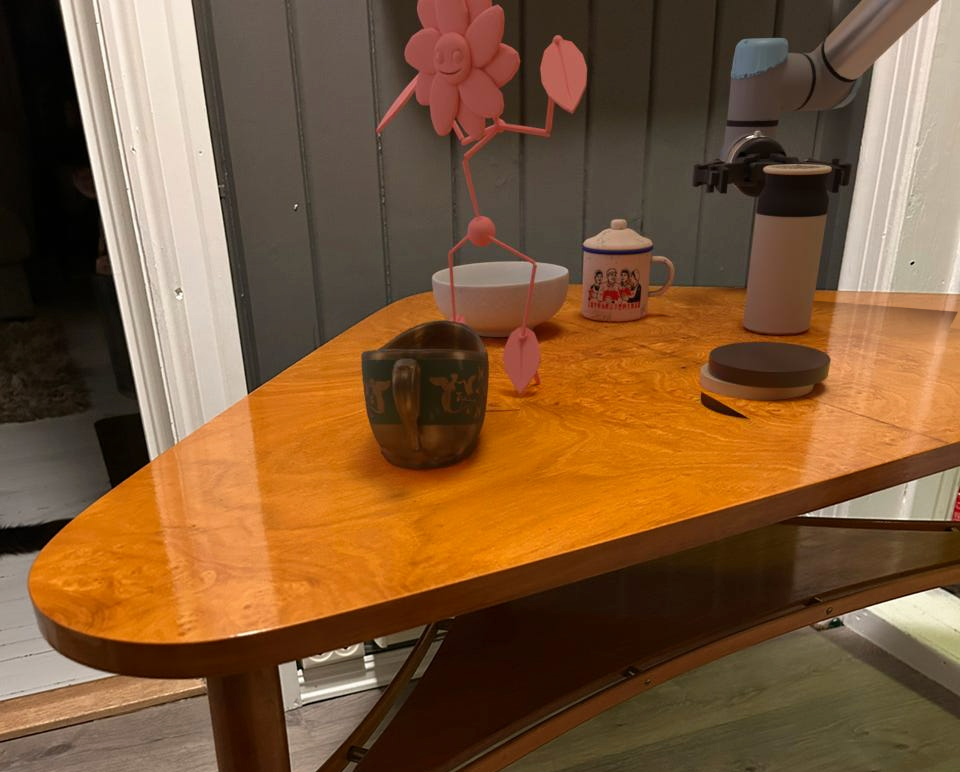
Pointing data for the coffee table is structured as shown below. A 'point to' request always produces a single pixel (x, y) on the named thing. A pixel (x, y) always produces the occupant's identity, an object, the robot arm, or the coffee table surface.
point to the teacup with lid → (619, 274)
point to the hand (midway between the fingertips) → (780, 181)
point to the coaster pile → (761, 372)
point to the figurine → (483, 115)
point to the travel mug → (786, 249)
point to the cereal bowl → (501, 295)
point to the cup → (427, 394)
